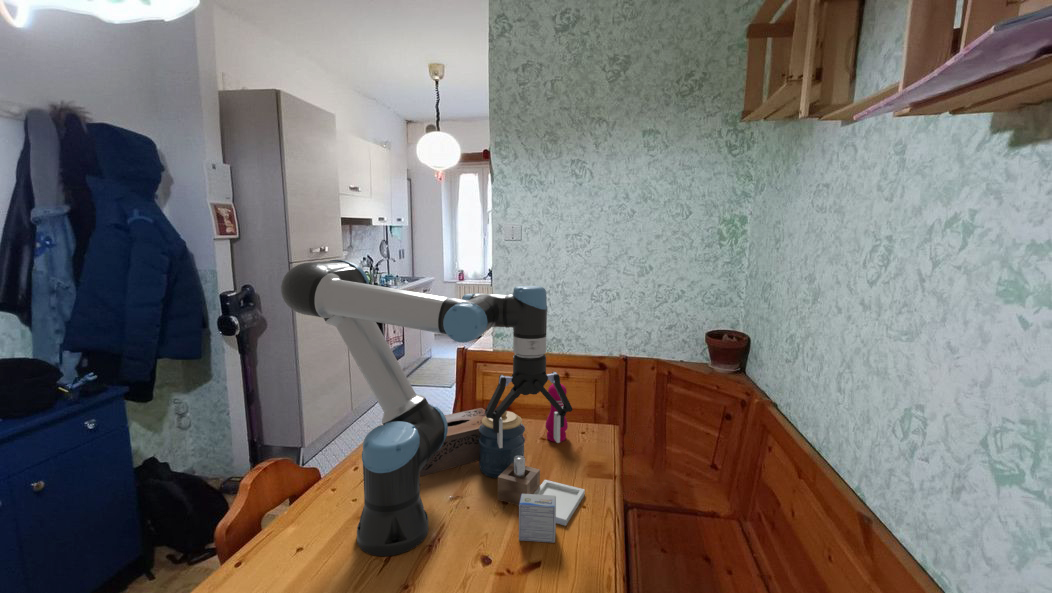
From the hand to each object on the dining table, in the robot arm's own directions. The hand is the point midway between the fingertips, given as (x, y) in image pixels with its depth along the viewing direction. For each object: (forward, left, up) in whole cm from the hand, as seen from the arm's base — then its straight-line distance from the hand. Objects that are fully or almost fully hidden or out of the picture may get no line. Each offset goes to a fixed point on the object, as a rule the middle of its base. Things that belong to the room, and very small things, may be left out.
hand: (528, 443), depth 106 cm
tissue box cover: (-33, +17, -18) cm, 41 cm away
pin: (-5, +6, -18) cm, 19 cm away
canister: (-16, +16, -18) cm, 29 cm away
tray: (+4, +6, -18) cm, 19 cm away
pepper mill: (-9, +41, -18) cm, 46 cm away
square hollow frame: (-5, +6, -18) cm, 19 cm away
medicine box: (+5, -7, -18) cm, 20 cm away
